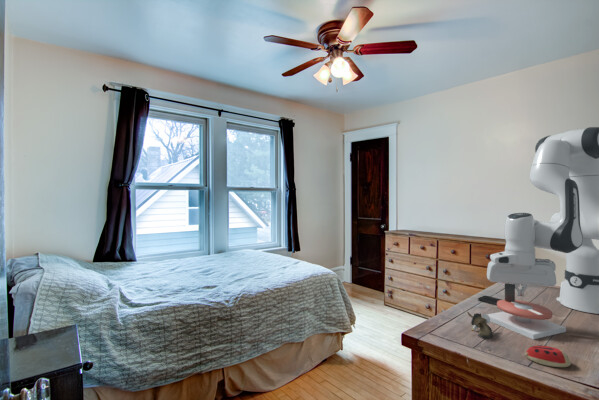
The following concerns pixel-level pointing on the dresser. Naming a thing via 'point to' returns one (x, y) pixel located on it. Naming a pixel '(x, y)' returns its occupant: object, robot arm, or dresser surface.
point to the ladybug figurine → (548, 356)
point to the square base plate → (526, 325)
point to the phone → (489, 300)
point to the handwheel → (522, 306)
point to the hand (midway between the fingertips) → (520, 295)
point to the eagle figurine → (481, 325)
